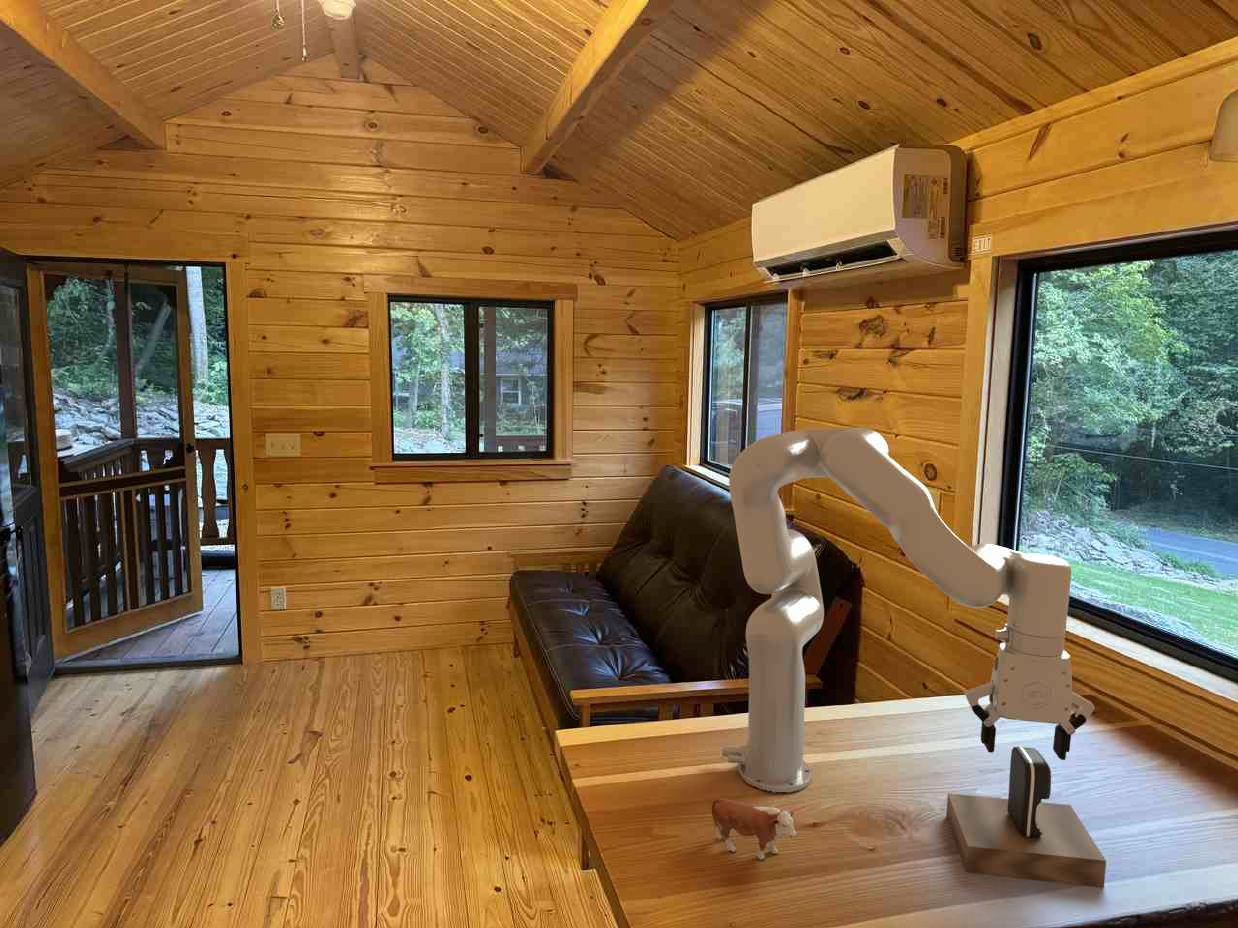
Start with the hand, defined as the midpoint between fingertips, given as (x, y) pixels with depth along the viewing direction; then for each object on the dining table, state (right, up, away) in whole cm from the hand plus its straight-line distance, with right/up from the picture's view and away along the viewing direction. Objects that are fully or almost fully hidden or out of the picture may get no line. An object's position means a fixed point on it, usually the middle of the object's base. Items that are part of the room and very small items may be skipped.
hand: (1023, 751), depth 119 cm
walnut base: (0, -15, +2) cm, 16 cm away
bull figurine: (-39, -16, +2) cm, 42 cm away
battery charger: (+1, -12, +1) cm, 12 cm away
